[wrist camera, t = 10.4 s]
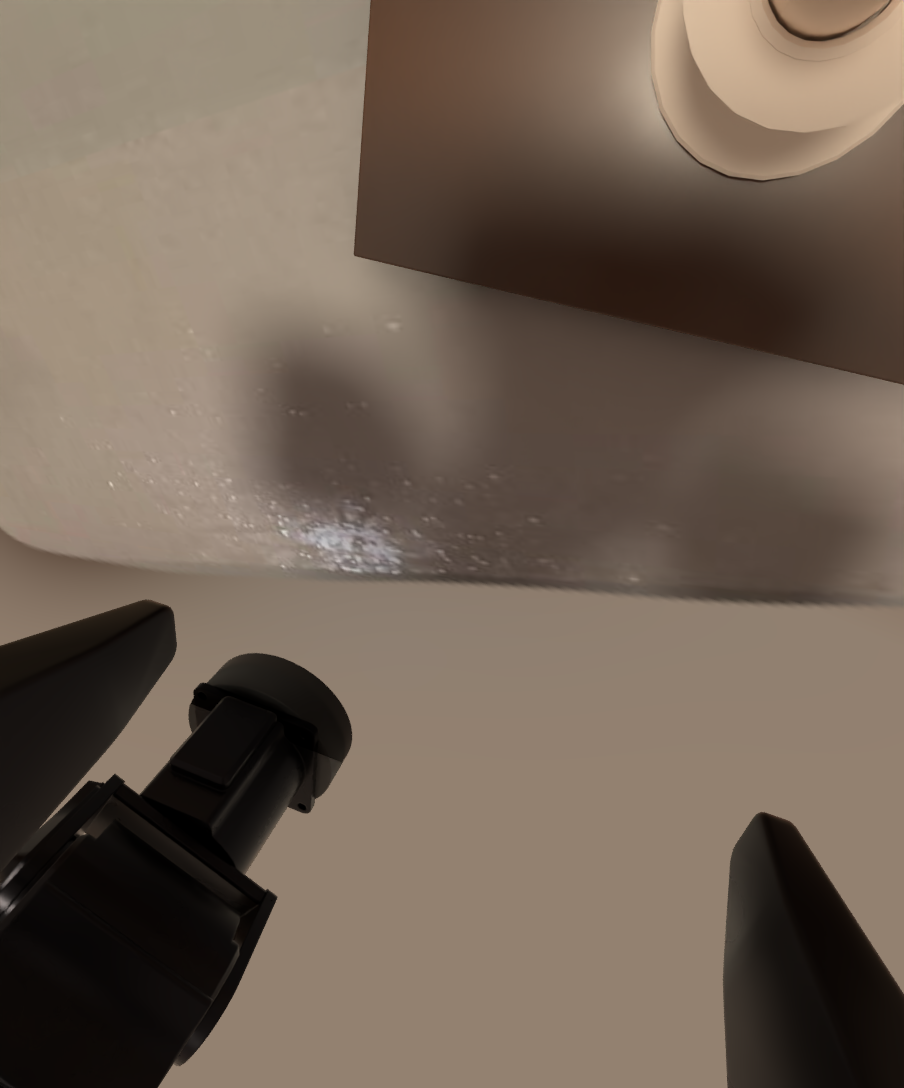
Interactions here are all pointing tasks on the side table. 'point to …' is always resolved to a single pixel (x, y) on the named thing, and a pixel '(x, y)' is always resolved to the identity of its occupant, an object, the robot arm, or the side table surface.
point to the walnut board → (614, 187)
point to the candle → (776, 79)
